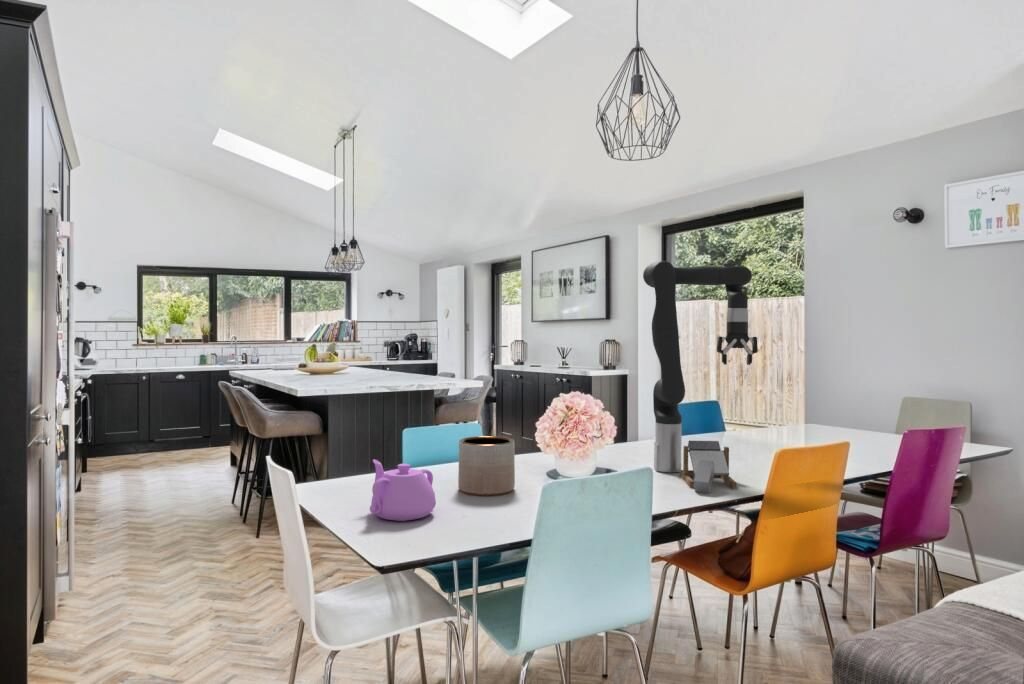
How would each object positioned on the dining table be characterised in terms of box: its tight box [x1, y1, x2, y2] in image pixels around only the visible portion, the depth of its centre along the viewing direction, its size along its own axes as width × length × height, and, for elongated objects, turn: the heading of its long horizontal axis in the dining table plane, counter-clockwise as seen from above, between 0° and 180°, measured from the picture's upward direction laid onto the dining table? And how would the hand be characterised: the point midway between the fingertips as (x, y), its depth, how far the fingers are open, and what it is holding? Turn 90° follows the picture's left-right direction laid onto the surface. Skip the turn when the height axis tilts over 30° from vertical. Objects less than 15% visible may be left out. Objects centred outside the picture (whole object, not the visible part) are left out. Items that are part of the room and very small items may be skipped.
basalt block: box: [693, 460, 715, 494], centre depth 209 cm, size 4×4×10 cm
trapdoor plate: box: [687, 440, 730, 476], centre depth 221 cm, size 15×11×3 cm
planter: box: [457, 435, 516, 497], centre depth 208 cm, size 18×18×16 cm
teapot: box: [369, 459, 437, 522], centre depth 180 cm, size 22×22×14 cm
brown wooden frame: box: [679, 445, 738, 490], centre depth 221 cm, size 18×15×12 cm
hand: (736, 364), depth 245 cm, fingers open, 8 cm apart
